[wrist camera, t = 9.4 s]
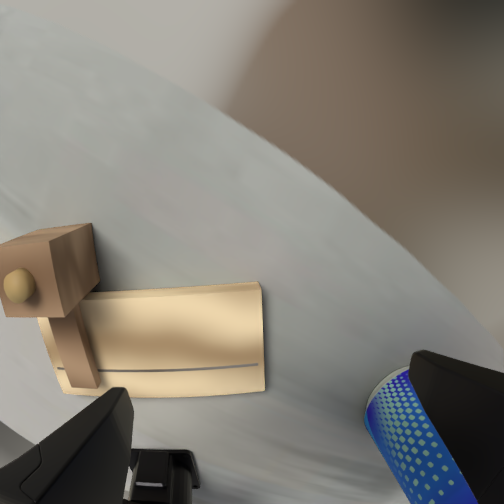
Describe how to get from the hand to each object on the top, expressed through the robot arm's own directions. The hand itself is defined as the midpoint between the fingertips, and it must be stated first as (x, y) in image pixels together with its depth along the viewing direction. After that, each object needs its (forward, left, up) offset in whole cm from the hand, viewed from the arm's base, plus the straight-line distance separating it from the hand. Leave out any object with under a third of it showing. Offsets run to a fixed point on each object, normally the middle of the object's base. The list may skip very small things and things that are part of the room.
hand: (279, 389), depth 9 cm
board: (-5, +7, -12) cm, 15 cm away
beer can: (-14, -14, -13) cm, 24 cm away
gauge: (-2, +12, -13) cm, 17 cm away
